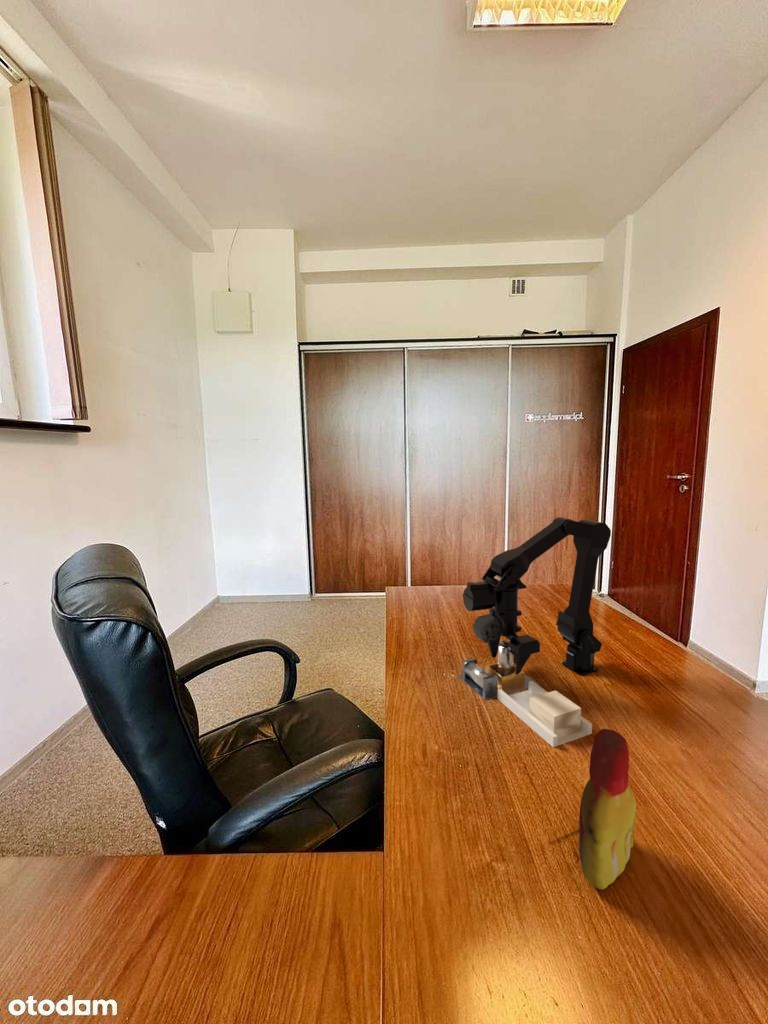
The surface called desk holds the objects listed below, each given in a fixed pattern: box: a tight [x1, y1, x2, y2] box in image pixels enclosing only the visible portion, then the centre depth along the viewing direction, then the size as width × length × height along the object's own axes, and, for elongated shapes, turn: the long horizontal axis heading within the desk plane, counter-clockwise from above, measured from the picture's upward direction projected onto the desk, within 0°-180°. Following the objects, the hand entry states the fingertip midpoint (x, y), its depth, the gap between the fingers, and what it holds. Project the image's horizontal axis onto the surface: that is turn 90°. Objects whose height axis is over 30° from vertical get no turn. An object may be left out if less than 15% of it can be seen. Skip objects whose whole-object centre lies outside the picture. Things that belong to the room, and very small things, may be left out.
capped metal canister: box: [497, 640, 514, 677], centre depth 103 cm, size 4×4×10 cm
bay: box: [497, 681, 593, 748], centre depth 89 cm, size 10×18×2 cm, turn 21°
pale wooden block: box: [529, 689, 582, 739], centre depth 86 cm, size 7×8×5 cm
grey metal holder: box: [457, 657, 541, 701], centre depth 103 cm, size 16×12×5 cm
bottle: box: [578, 728, 637, 890], centre depth 56 cm, size 12×6×20 cm, turn 134°
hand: (504, 665), depth 103 cm, fingers open, 9 cm apart
